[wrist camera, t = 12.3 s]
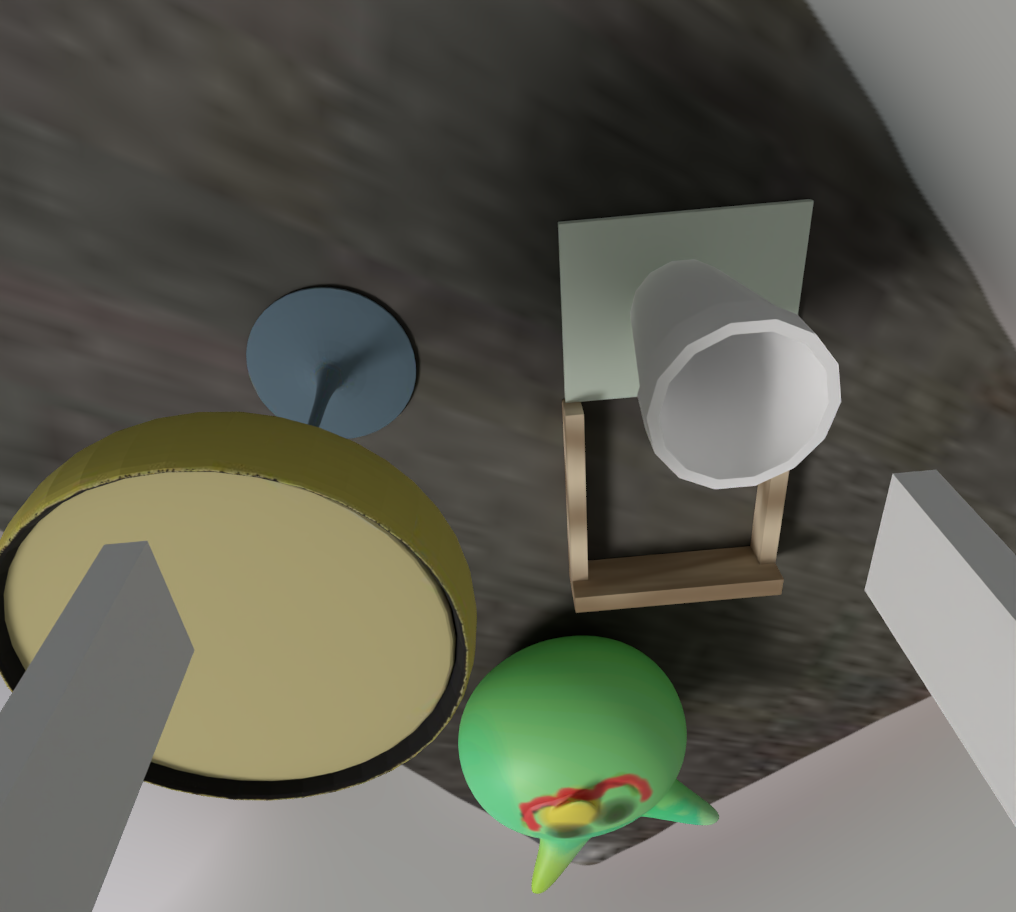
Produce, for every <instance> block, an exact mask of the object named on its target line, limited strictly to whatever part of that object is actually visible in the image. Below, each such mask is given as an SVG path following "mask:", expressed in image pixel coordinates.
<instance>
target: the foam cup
mask: <svg viewBox="0 0 1016 912" xmlns="http://www.w3.org/2000/svg"><path fill="white" fill-rule="evenodd" d="M630 314H631V316H630V318H631V325H632V332H633V340H634V347H635V354H636V362H637V369H638V376H639V384H640V387H639V391H638V394H637V397H638V401H639V405H640V409H641V413H642V417H643V422H644V426H645V430H646V432H647V435H648V437H649V440H650V442H651V445H652V448H653V450H654V453H655V454H656V455H657V456H658V457H659V458H660V459H661V460H662V461H663V462H664V463H665V464H666V465H667V466H668V467H669V468H670V469H671V470H672V471H673V472H674V473H675V474H676V475H677V476H678V477H679V478H681V479H684V480H687V481H691V482H694V483H697V484H700V485H703V486H706V487H709V488H713V489H723V488H735V487H746V486H756V485H758V484H760V483H762V482H765V481H767V480H769V479H771V478H773V477H776V476H778V475H780V474H782V473H784V472H787V471H789V470H791V469H793V468H795V467H796V466H797V465H798V464H799V463H800V462H801V461H802V460H803V459H804V458H805V457H806V456H807V455H808V454H809V453H810V452H811V451H812V450H813V449H814V448H816V447H817V446H818V445H819V444H820V443H821V442H822V441H823V440H824V439H825V437H826V435H827V433H828V430H829V428H830V426H831V424H832V421H833V419H834V417H835V414H836V412H837V410H838V408H839V405H840V403H841V392H840V378H839V364H838V363H837V362H836V360H835V359H834V358H833V356H832V355H831V354H830V352H829V351H828V350H827V348H826V347H825V346H824V344H823V343H822V342H821V340H820V339H819V338H818V336H817V335H816V334H815V333H814V332H813V331H812V330H811V329H810V327H809V326H808V325H807V324H806V323H805V322H804V321H803V320H802V319H801V318H800V317H799V316H798V315H797V314H795V313H792V312H790V311H787V310H785V309H782V308H780V307H777V306H775V305H774V304H772V303H771V302H769V301H767V300H766V299H764V298H763V297H761V296H760V295H758V294H756V293H755V292H753V291H752V290H750V289H749V288H747V287H746V286H744V285H742V284H741V283H739V282H738V281H736V280H735V279H733V278H731V277H730V276H728V275H727V274H725V273H724V272H722V271H720V270H719V269H716V268H715V267H713V266H711V265H708V264H706V263H703V262H701V261H698V260H696V259H690V260H679V261H671V262H669V263H667V264H665V265H663V266H662V267H660V268H658V269H656V270H654V271H652V272H651V273H650V274H649V275H648V276H647V277H646V279H645V280H644V281H643V282H642V284H641V285H640V286H639V287H638V289H637V290H636V291H635V295H634V299H633V303H632V307H631V311H630Z"/></svg>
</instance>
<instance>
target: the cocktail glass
mask: <svg viewBox="0 0 1016 912" xmlns="http://www.w3.org/2000/svg"><path fill="white" fill-rule="evenodd" d="M246 357H247V368H248V372H249V377H250V379H251V382H252V384H253V386H254V389H255V391H256V392H257V394H258V395H259V397H260V399H261V400H262V402H263V403H264V404H265V405H266V406H267V407H268V408H269V410H270V411H271V412H273V413H274V414H275V415H276V416H277V417H275V416H268V415H260V414H253V413H245V412H197V413H191V414H184V415H178V416H171V417H165V418H158V419H154V420H151V421H148V422H145V423H142V424H139V425H136V426H132V427H129V428H126V429H123V430H120V431H117V432H115V433H113V434H111V435H109V436H107V437H105V438H103V439H102V440H100V441H98V442H96V443H94V444H92V445H90V446H88V447H86V448H85V449H83V450H81V451H80V452H78V453H76V454H75V455H74V456H73V457H71V458H70V459H69V460H68V461H66V462H65V463H64V464H63V465H62V466H60V467H59V468H58V469H57V470H55V471H54V472H53V473H52V474H50V475H49V476H48V477H47V478H46V479H45V480H44V481H43V482H42V483H41V484H40V485H39V486H38V487H37V488H36V490H35V491H34V492H33V493H32V494H31V496H30V497H29V498H28V499H27V501H26V502H25V503H24V505H23V506H22V507H21V508H20V510H19V511H18V512H17V513H16V515H15V516H14V517H13V519H12V520H11V522H10V523H9V524H8V526H7V528H6V529H5V531H4V533H3V535H2V537H1V539H0V674H1V676H2V678H3V680H4V681H5V683H6V685H7V687H8V688H9V689H10V690H11V692H13V691H14V689H15V688H16V686H17V684H18V683H19V681H20V680H21V678H22V676H23V675H24V673H25V671H26V670H27V668H28V667H29V665H30V663H31V662H32V660H33V659H34V657H35V655H36V654H37V652H38V651H39V649H40V647H41V646H42V644H43V642H44V641H45V639H46V638H47V636H48V634H49V633H50V631H51V630H52V628H53V626H54V625H55V623H56V621H57V620H58V618H59V617H60V615H61V613H62V612H63V610H64V609H65V607H66V605H67V604H68V602H69V600H70V599H71V597H72V596H73V594H74V592H75V591H76V589H77V588H78V586H79V584H80V583H81V581H82V580H83V578H84V576H85V575H86V573H87V571H88V570H89V568H90V567H91V565H92V563H93V562H94V560H95V559H96V557H97V555H98V554H99V552H100V550H101V549H102V547H103V546H104V545H105V544H116V543H127V542H138V541H148V543H149V545H150V548H151V550H152V552H153V554H154V557H155V559H156V561H157V564H158V566H159V568H160V571H161V573H162V575H163V578H164V580H165V582H166V585H167V587H168V589H169V592H170V594H171V596H172V599H173V601H174V603H175V606H176V608H177V610H178V613H179V615H180V617H181V620H182V622H183V624H184V627H185V629H186V631H187V634H188V636H189V638H190V641H191V643H192V645H193V648H194V653H193V655H192V658H191V661H190V663H189V666H188V668H187V671H186V673H185V676H184V678H183V681H182V683H181V686H180V689H179V691H178V694H177V696H176V699H175V701H174V704H173V706H172V709H171V711H170V714H169V717H168V719H167V722H166V724H165V727H164V729H163V732H162V734H161V737H160V739H159V742H158V744H157V747H156V750H155V752H154V755H153V757H152V760H151V762H150V765H149V767H148V770H147V772H146V775H145V778H144V780H143V781H144V782H147V783H151V784H154V785H157V786H161V787H164V788H168V789H171V790H176V791H181V792H186V793H191V794H196V795H201V796H207V797H216V798H226V799H233V800H282V799H293V798H304V797H310V796H314V795H320V794H326V793H331V792H336V791H339V790H342V789H346V788H349V787H352V786H356V785H359V784H362V783H365V782H367V781H369V780H372V779H374V778H376V777H379V776H381V775H383V774H385V773H387V772H390V771H392V770H394V769H395V768H397V767H398V766H400V765H402V764H403V763H405V762H406V761H408V760H410V759H411V758H413V757H414V756H416V755H417V754H418V753H419V752H420V751H421V750H423V749H424V748H425V747H426V746H427V745H428V744H430V743H431V742H432V741H433V740H434V739H435V738H436V737H437V736H438V734H439V733H440V732H441V731H442V730H443V728H444V727H445V726H446V725H447V724H448V722H449V721H450V720H451V718H452V716H453V714H454V713H455V711H456V709H457V707H458V705H459V703H460V702H461V700H462V698H463V696H464V694H465V690H466V687H467V684H468V680H469V677H470V673H471V670H472V666H473V662H474V656H475V642H476V622H477V613H476V603H475V597H474V592H473V586H472V580H471V575H470V570H469V567H468V565H467V562H466V560H465V557H464V555H463V552H462V550H461V547H460V545H459V542H458V540H457V537H456V535H455V534H454V532H453V531H452V529H451V527H450V526H449V524H448V523H447V521H446V520H445V518H444V517H443V515H442V514H441V512H440V511H439V509H438V508H437V507H436V505H435V504H434V503H433V502H432V501H431V500H430V499H429V498H428V497H427V496H426V495H425V494H424V493H423V492H422V490H421V489H420V488H419V487H418V486H417V485H416V484H415V483H414V482H413V481H412V480H411V479H409V478H408V477H407V476H405V475H404V474H403V473H402V472H400V471H399V470H398V469H397V468H395V467H394V466H393V465H391V464H390V463H389V462H388V461H386V460H385V459H383V458H381V457H380V456H378V455H376V454H374V453H373V452H371V451H369V450H367V449H366V448H364V447H362V446H361V445H359V444H357V443H355V442H353V441H351V440H348V438H356V437H360V436H365V435H368V434H370V433H373V432H375V431H378V430H379V429H381V428H383V427H385V426H386V425H388V424H389V423H390V422H391V421H393V420H394V419H395V418H396V417H397V416H398V415H399V414H400V413H401V412H402V410H403V409H404V408H405V406H406V405H407V403H408V401H409V399H410V397H411V395H412V392H413V389H414V385H415V379H416V362H415V356H414V351H413V348H412V346H411V343H410V340H409V338H408V336H407V335H406V333H405V331H404V330H403V328H402V326H401V325H400V324H399V323H398V322H397V320H396V319H395V318H394V317H393V316H392V315H391V314H390V313H389V312H388V311H387V310H386V309H384V308H383V307H382V306H380V305H379V304H377V303H376V302H374V301H373V300H371V299H369V298H367V297H365V296H363V295H361V294H358V293H355V292H352V291H349V290H345V289H339V288H333V287H314V288H308V289H302V290H299V291H296V292H293V293H290V294H287V295H285V296H284V297H282V298H280V299H278V300H276V301H275V302H274V303H273V304H271V305H270V306H269V307H268V308H267V309H266V310H265V311H264V312H263V313H262V314H261V315H260V317H259V318H258V319H257V321H256V323H255V324H254V326H253V328H252V330H251V333H250V336H249V339H248V344H247V351H246Z"/></svg>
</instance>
